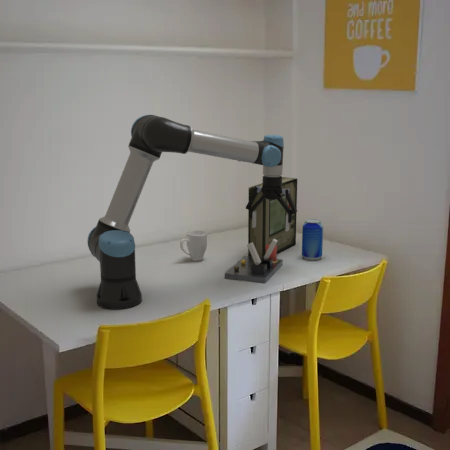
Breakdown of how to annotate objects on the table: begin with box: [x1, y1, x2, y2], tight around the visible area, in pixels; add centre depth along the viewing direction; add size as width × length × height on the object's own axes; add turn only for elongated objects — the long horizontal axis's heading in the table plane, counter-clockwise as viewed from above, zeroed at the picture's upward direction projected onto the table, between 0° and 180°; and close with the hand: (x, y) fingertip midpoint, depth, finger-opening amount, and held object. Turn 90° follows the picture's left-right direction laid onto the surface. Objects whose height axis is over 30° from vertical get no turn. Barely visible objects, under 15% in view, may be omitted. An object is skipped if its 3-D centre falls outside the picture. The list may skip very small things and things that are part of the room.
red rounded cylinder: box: [266, 244, 278, 262], centre depth 250 cm, size 4×4×6 cm
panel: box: [224, 255, 284, 284], centre depth 244 cm, size 24×16×5 cm, turn 160°
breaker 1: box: [247, 242, 261, 266], centre depth 235 cm, size 3×2×8 cm, turn 160°
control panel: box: [247, 176, 298, 258], centre depth 268 cm, size 30×8×30 cm, turn 148°
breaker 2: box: [264, 239, 278, 260], centre depth 241 cm, size 3×2×8 cm, turn 160°
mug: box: [179, 230, 208, 262], centre depth 257 cm, size 12×8×11 cm
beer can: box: [301, 218, 324, 261], centre depth 260 cm, size 8×8×16 cm
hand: (270, 229), depth 248 cm, fingers open, 13 cm apart
